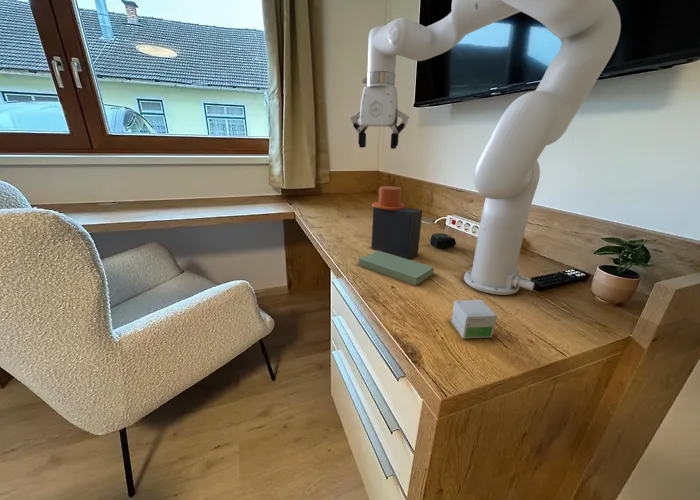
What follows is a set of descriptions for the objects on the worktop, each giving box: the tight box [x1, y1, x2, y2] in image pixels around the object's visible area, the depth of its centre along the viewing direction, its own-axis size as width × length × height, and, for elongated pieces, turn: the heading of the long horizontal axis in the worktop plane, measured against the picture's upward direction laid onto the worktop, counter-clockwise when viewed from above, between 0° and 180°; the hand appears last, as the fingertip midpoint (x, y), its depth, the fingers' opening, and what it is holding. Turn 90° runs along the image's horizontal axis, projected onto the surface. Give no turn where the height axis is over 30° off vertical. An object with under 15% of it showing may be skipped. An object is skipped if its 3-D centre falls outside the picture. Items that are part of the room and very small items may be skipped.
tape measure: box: [429, 232, 457, 249], centre depth 102 cm, size 7×7×4 cm
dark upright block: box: [370, 206, 423, 260], centre depth 94 cm, size 14×5×14 cm, turn 49°
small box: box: [450, 299, 497, 340], centre depth 57 cm, size 6×6×5 cm
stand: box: [358, 250, 435, 286], centre depth 83 cm, size 18×9×2 cm, turn 49°
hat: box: [372, 185, 407, 210], centre depth 93 cm, size 10×10×6 cm
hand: (377, 147), depth 90 cm, fingers open, 9 cm apart
